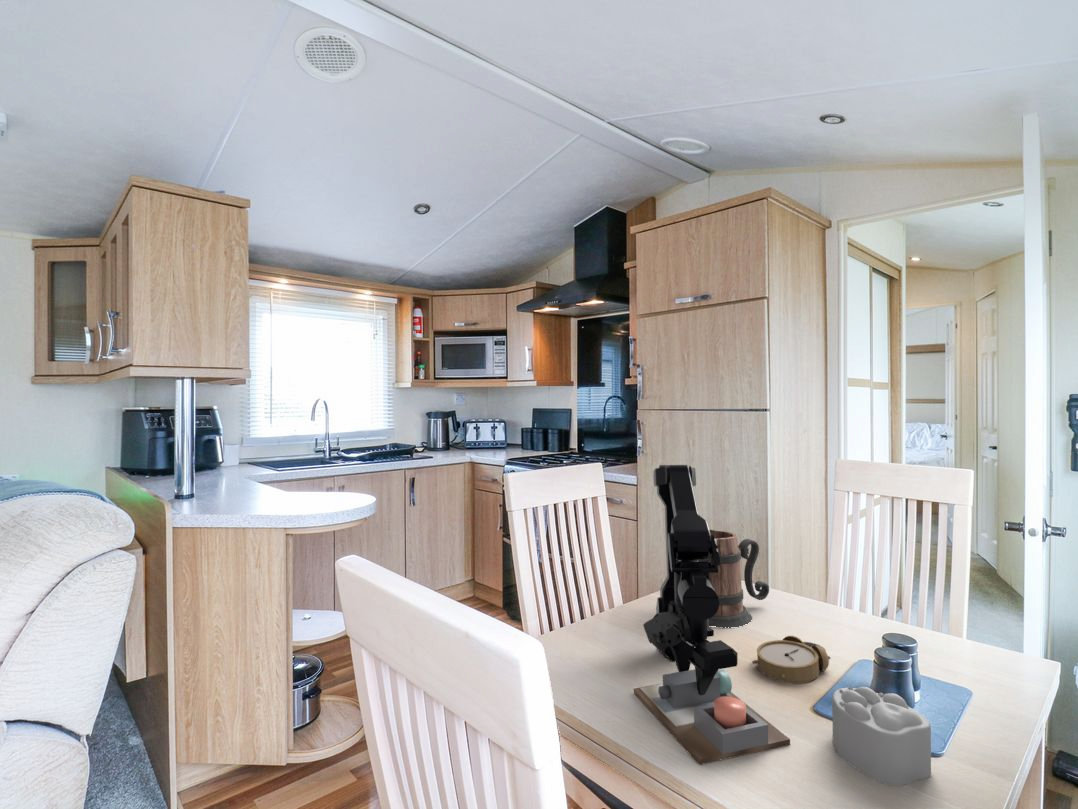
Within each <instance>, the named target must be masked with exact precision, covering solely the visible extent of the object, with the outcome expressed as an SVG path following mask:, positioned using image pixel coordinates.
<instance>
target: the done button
mask: <svg viewBox="0 0 1078 809" xmlns="http://www.w3.org/2000/svg"><path fill="white" fill-rule="evenodd" d="M739 699H740V698H739ZM739 699H737V698H733V697H719V698H717V699H715V700H714V720H715V721H716V722H717V723H718V724H719V725H720V726H722V727H723V728H724V729H729V728H734V727H739V726H743V725H746V705H745V703H746V702H745V701H743V700H742V699H741V700H742V701H743V702H742V701H741V700H739Z"/></svg>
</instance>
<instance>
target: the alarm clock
mask: <svg viewBox="0 0 1078 809" xmlns="http://www.w3.org/2000/svg"><path fill="white" fill-rule="evenodd" d="M756 655H757V659H756V660H752V661H751V663H752V664H757V668H758V669H759V671H760V672H761V673H763V675H766V676H767V677H769V678H772V679H774V680H777V681H781V682H785V683H793V684H802V683H808V682H811V681H813V680H815V679H817V678H818V676H819V674H820V669H821V672H824V671H826V670H827V669H828V667H829V664H830V663H829V662H830V661H829V660H831V656H829V655H828V653H827V651H826V648H825V647H824V646H822V645H820V644H818V643H815V642H814V643H813V642H811V641H803V640H802V639H801V638H800V637H798V636H795V635H787V636H785V637H784V638H782V639H778V640H777V639H776V640H769V641H766V642H763V643H761V644H760V645H758V646H757V648H756Z"/></svg>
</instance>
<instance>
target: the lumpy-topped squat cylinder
mask: <svg viewBox="0 0 1078 809" xmlns="http://www.w3.org/2000/svg"><path fill="white" fill-rule="evenodd" d="M831 701H832V704H831V705H832V706H831V708H832V744H833V747H834V749H835V751H836V752H837V754H838V756H840V757H841V758H842V760H844V761H845V762H846V763H848V764H849V765H851V767H853V768H855V769H857V770H858V771H859V772H861V773H863V774H864V775H866V776H867V777H868V778H871V779H872V780H874V781H876V782H878V783H881V784H884V785H887V786H892V787H902V786H905V785H907V784H909V783H911V782H913V781H917V780H918V781H919V780H925V779H928V778H930V777H931V776H932V726H931V723H930V720H928V718H927V717H926V716H924V715H923V714H922V713H920V712H919V711H917V710H915V709H913V708H912V707H910V706H909V705H908V704H907V702H906V700H905V699H904V698H903V697H902V696H900V694H897V693H892V692H890V693H883V692H879V693H878V692H875V691H874V690H873V689H871V688H870V687H867V686H859V687H857V688H856V687H855V688H854V687H851V686H849V687H842V688H841V687H840V688H838V689H836V690H835V691H834V692H833V695H832V700H831Z"/></svg>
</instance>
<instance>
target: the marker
mask: <svg viewBox="0 0 1078 809" xmlns="http://www.w3.org/2000/svg"><path fill="white" fill-rule="evenodd" d="M662 683H663V686H660V687H659V689H658V691H659V695H660V697H661V699H665V700H666V701H667V702H668V703H669V704H670V705H671V706H672V707H673V708H674V709H676V708H681V707H686V706H692V705H697V704H702V703H707V702H713V701H714V700H715V699H717V698H719V697H720V694H725V693H730V692H732V687H733V682H732V680H731V677H730V674H729V673H728V672H727V671H726V670H725V669H719V670H718V671H717V673H716V674H715V676H714V678H713V680H712V682H711V684H710V686H709V688H708V690H707V692H706V694H705V695H699V694H698V689H697V681H696V672H695V668H694V669H689V670H688V671H682V672H672V673H671V672H670V673H665V674H662Z"/></svg>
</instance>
